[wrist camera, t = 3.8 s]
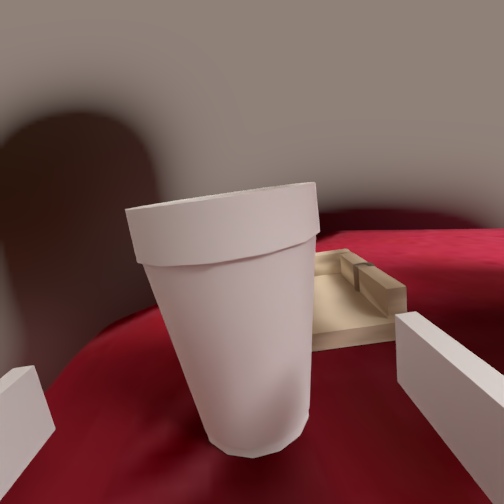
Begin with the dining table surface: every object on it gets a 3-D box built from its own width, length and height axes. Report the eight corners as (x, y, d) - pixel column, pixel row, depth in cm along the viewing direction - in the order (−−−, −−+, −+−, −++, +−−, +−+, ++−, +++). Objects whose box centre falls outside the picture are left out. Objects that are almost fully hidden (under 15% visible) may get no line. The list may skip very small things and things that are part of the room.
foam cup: (199, 370, 23) (165, 201, 20) (320, 359, 22) (302, 182, 20) (153, 495, 14) (79, 218, 11) (355, 483, 13) (331, 182, 10)
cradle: (350, 278, 38) (348, 248, 37) (415, 337, 23) (414, 289, 22) (229, 295, 38) (224, 265, 37) (219, 364, 24) (210, 317, 23)
